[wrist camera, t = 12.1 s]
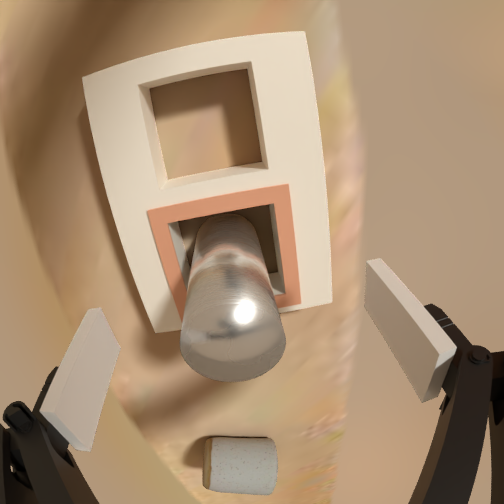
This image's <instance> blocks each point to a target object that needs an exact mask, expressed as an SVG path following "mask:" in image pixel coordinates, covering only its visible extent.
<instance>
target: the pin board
mask: <svg viewBox="0 0 504 504" xmlns="http://www.w3.org/2000/svg"><path fill="white" fill-rule="evenodd" d="M241 69H247V70H248V76H249V82H250V88H251V94H252V100H253V106H254V112H255V118H256V125H257V131H258V137H259V143H260V150H261V156H262V162H258V163H252V164H246V165H240V166H234V167H229V168H223V169H218V170H213V171H207V172H202V173H198V174H193V175H188V176H183V177H178V178H174V179H169V180H168V178H167V174H166V169H165V165H164V160H163V156H162V151H161V146H160V141H159V137H158V132H157V127H156V122H155V117H154V111H153V106H152V101H151V95H150V90H149V88H153V87H157V86H161V85H165V84H169V83H173V82H177V81H182V80H186V79H191V78H195V77H200V76H206V75H211V74H216V73H222V72H228V71H234V70H241ZM82 81H83V88H84V94H85V100H86V105H87V111H88V116H89V121H90V126H91V131H92V135H93V140H94V145H95V149H96V153H97V158H98V162H99V166H100V170H101V174H102V178H103V182H104V185H105V189H106V193H107V196H108V200H109V203H110V207H111V210H112V214H113V217H114V220H115V224H116V227H117V230H118V233H119V236H120V240H121V243H122V246H123V249H124V252H125V255H126V258H127V260H128V263H129V266H130V269H131V272H132V275H133V277H134V280H135V283H136V286H137V288H138V291H139V294H140V296H141V299H142V301H143V304H144V307H145V309H146V312H147V314H148V317H149V319H150V322H151V324H152V326H153V329H154V331H155V333H162V332H169V331H176V330H181V329H182V322H183V315H184V309H185V302H186V296H187V289H188V283H189V277H190V271H191V269H190V266H189V262H188V258H187V255H186V251H185V247H184V243H183V239H182V236H181V232H180V228H179V224H178V221H181V220H186V219H191V218H196V217H201V216H206V215H212V214H217V213H222V212H228V211H233V210H239V209H244V208H250V207H255V206H261V205H267V204H269V210H270V217H271V224H272V231H273V238H274V245H275V252H276V260H277V267H278V272H275V273H270V274H268V276H269V279H270V283H271V286H272V290H273V293H274V297H275V301H276V304H277V308H278V311H279V313H284V312H289V311H294V310H299V309H304V308H308V307H313V306H318V305H323V304H327V303H332V274H331V251H330V232H329V217H328V203H327V191H326V179H325V169H324V159H323V150H322V141H321V132H320V124H319V116H318V109H317V102H316V95H315V88H314V81H313V75H312V69H311V63H310V57H309V51H308V46H307V40H306V35H305V31H298V32H280V33H268V34H258V35H249V36H241V37H233V38H227V39H220V40H214V41H208V42H203V43H198V44H193V45H188V46H183V47H179V48H175V49H170V50H166V51H162V52H158V53H155V54H151V55H147V56H144V57H140V58H137V59H133V60H130V61H127V62H124V63H121V64H118V65H115V66H112V67H109V68H106V69H103V70H100V71H98V72H95V73H92V74H90V75H87V76H84V77H82Z"/></svg>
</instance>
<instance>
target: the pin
mask: <svg viewBox="0 0 504 504" xmlns="http://www.w3.org/2000/svg"><path fill="white" fill-rule="evenodd" d="M285 345H286V338H285V333H284V329H283V326H282V322H281V319H280V315H279V311H278V308H277V304H276V301H275V297H274V293H273V290H272V286H271V283H270V279H269V276H268V272H267V268H266V265H265V261H264V258H263V254H262V251H261V247H260V244H259V240H258V236H257V233H256V230H255V228H254V227H253V225H252V224H251V223H250V222H249V221H248V220H247V219H246V218H244V217H242V216H240V215H238V214H234V213H220V214H217V215H214V216H212V217H210V218H209V219H207V220H206V221H205V222H204V223H203V224H202V226H201V227H200V229H199V231H198V233H197V237H196V243H195V248H194V254H193V260H192V265H191V271H190V277H189V283H188V289H187V296H186V302H185V309H184V315H183V322H182V329H181V336H180V350H181V353H182V356H183V358H184V360H185V361H186V363H187V364H188V365H189V366H190V367H191V368H192V369H193V370H194V371H196V372H197V373H199V374H201V375H203V376H205V377H207V378H210V379H213V380H217V381H223V382H240V381H246V380H250V379H253V378H256V377H258V376H261V375H263V374H264V373H266V372H268V371H269V370H270V369H272V368H273V367H274V366H275V365H276V364H277V363H278V362H279V360H280V359H281V357H282V355H283V353H284V350H285Z"/></svg>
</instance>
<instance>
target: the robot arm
mask: <svg viewBox="0 0 504 504" xmlns="http://www.w3.org/2000/svg"><path fill="white" fill-rule="evenodd" d="M364 307H365V309H366V311H367V312H368V314H369V315H370V317H371V318H372V320H373V322H374V323H375V325H376V326H377V328H378V330H379V331H380V333H381V334H382V336H383V338H384V339H385V341H386V342H387V344H388V346H389V347H390V349H391V351H392V352H393V354H394V356H395V357H396V359H397V361H398V362H399V364H400V366H401V367H402V369H403V371H404V373H405V374H406V376H407V378H408V379H409V381H410V383H411V384H412V386H413V388H414V390H415V392H416V393H417V395H418V397H419V398H420V400H421V402H422V403H423V402H426V401H428V400H430V399H433V398H435V397H438V395H439V393H440V390H441V388H443V389H444V391H445V393H446V395H445V398H444V400H443V402H442V404H441V406H440V408H439V409H440V410H441V413H440V417H439V420H438V424H437V427H436V431H435V434H434V437H433V440H432V443H431V446H430V450H429V453H428V456H427V458H426V461H425V464H424V467H423V469H422V472H421V475H420V477H419V480H418V482H417V485H416V487H415V490H414V492H413V494H412V497H411V499H410V501H409V503H408V504H468V501H469V498H470V495H471V491H472V488H473V485H474V481H475V477H476V473H477V470H478V465H479V461H480V457H481V452H482V447H483V442H484V437H485V431H486V425H487V419H488V417H489V427H490V440H491V467H492V481H491V482H492V483H491V504H504V351H501V352H494V353H490V351H489V350H487V349H486V348H484V347H482V346H477V345H472V344H471V343H470V342H469V341H468V340H467V338H466V337H465V336H464V335H463V333H462V332H461V331H460V330H459V329H458V328H457V326H456V325H455V324H453V322H452V321H451V320H450V319H449V318H448V316H447V315H446V314H445V313H444V312H443V311H442V309H440V308H438V307H437V306H435V305H433V304H429V305H426V306H423V305H422V304H421V303H420V302H419V301H418V299H417V298H416V297H415V296H414V295H413V294H412V293H411V291H410V290H409V289H408V288H407V287H406V286H405V285H404V284H403V282H402V281H401V280H400V279H399V278H398V277H397V276H396V275H395V274H394V272H393V271H392V270H391V269H390V268H389V267H388V266H387V265H386V264H385V263H384V262H383V261H382V260H381V258H378V259H374V260H369V261H366V284H365V304H364ZM120 349H121V348H120V346H119V344H118V342H117V340H116V338H115V336H114V334H113V332H112V330H111V328H110V326H109V324H108V322H107V320H106V318H105V316H104V314H103V311H102V309H101V307H100V308H93V309H88V311H87V313H86V314H85V316H84V318H83V320H82V322H81V324H80V326H79V328H78V329H77V331H76V333H75V335H74V337H73V339H72V341H71V343H70V345H69V347H68V349H67V351H66V353H65V356H64V357H63V360H62V361H61V364H60V366H59V367H55V368H54V369H53V370H52V372H51V373H50V374H49V376H48V377H47V379H46V382H45V385H44V386H43V388H42V391H41V393H40V395H39V397H38V399H37V402H36V404H35V406H34V409H33V411H32V412H31V411H30V409H29V408H28V407H27V406H26V405H25V404H24V403H23V402H21V401H16V402H13V403H11V404H10V405H9V406H8V407H7V408H6V409H5V411H4V414H3V420H4V422H5V423H6V424H7V425H8V426H9V427H10V428H8V429H5V428H4V427H3V426H2V425H1V424H0V504H99V502H98V501H97V499H96V497H95V496H94V494H93V493H92V491H91V489H90V487H89V486H88V484H87V482H86V481H85V479H84V477H83V475H82V473H81V471H80V470H79V468H78V466H77V464H76V462H75V460H74V458H73V456H72V454H71V453H70V451H69V450H68V449H67V448H68V445H69V443H70V444H71V445H72V446H73V447H74V448H75V449H76V450H80V451H88V452H91V449H92V445H93V441H94V437H95V433H96V429H97V426H98V422H99V418H100V414H101V411H102V407H103V403H104V400H105V397H106V394H107V390H108V387H109V384H110V380H111V377H112V374H113V371H114V367H115V364H116V361H117V358H118V355H119V352H120ZM10 465H11V466H12V467H13V472H11V467H10Z"/></svg>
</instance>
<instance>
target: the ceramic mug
mask: <svg viewBox="0 0 504 504" xmlns="http://www.w3.org/2000/svg"><path fill="white" fill-rule="evenodd" d="M277 472H278V459H277V450H276V446H275V443H274V441H273V440H272V439H271V438H228V437H214V438H209V439H208V440H206V442H205V448H204V458H203V486H204V487H205V488H206V489H209V490H212V491H216V492H224V493H238V494H253V495H270V494H271V493H272V492H273V490H274V488H275V485H276V482H277Z"/></svg>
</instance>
